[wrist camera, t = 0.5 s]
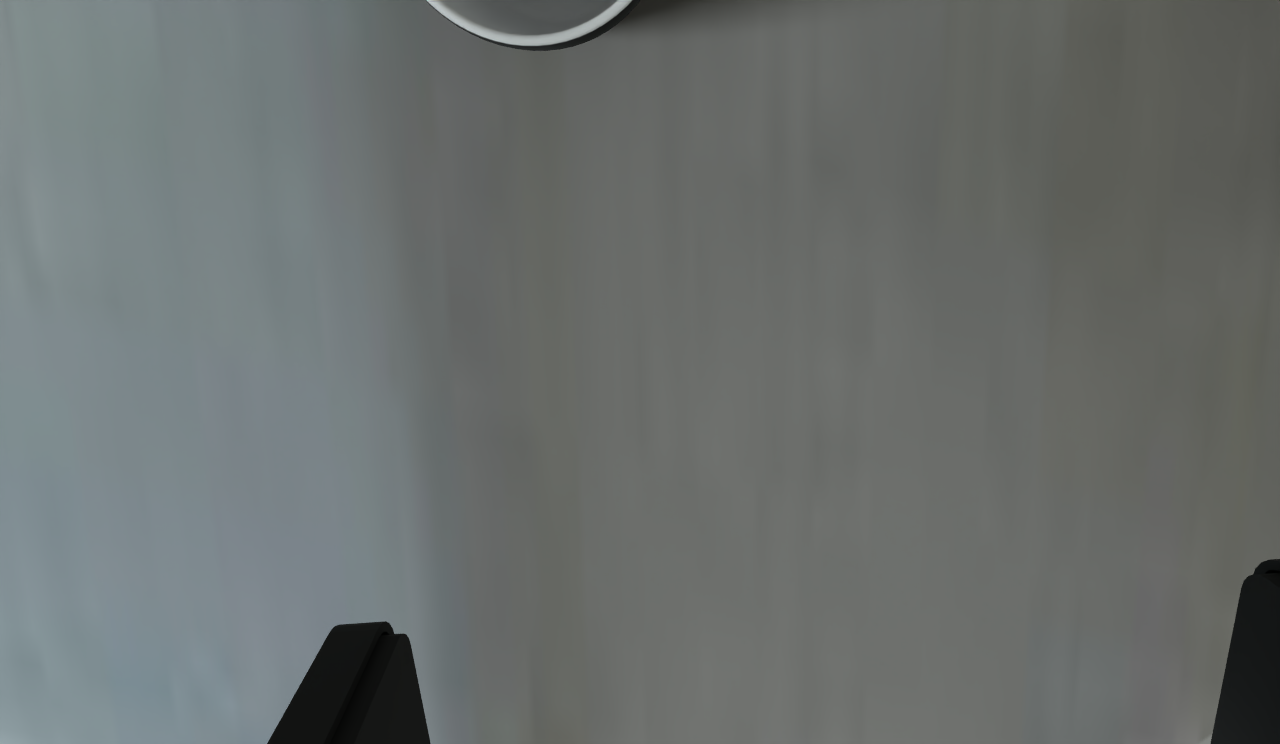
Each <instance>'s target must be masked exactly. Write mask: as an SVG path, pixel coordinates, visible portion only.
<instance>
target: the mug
mask: <svg viewBox="0 0 1280 744" xmlns="http://www.w3.org/2000/svg"><path fill="white" fill-rule="evenodd" d="M426 1H427V2H428V3H429V4H430V5H431V6H432V7H433V8H434V9H435V10H436V11H438V12H439V13H440V14H441V15H442V16H444V17H445V18H446V19H448V20H449V21H451V22H452V23H454V24H455V25H456V26H458V27H460V28H462V29H463V30H465V31H467V32H469V33H470V34H472V35H475V36H477V37H479V38H481V39H484V40H486V41H489V42H492V43H495V44H498V45H501V46H506V47H510V48H515V49H522V50H532V51H548V50H557V49H563V48H568V47H573V46H576V45H579V44H582V43H585V42H587V41H590V40H592V39H594V38H596V37H598V36H600V35H601V34H603V33H605V32H607V31H608V30H609V29H611V28H612V27H614V26H615V25H616V24H618V23H619V22H620V21H621V20H622V19H623V18H624V17H626V16H627V15H628V14H629V12H630V11H631V10H632V9H633V8H634V7H635V6H636V5H637V4H638V2H639V1H640V0H426Z"/></svg>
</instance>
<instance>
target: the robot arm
mask: <svg viewBox="0 0 1280 744" xmlns="http://www.w3.org/2000/svg"><path fill="white" fill-rule="evenodd" d="M267 744H430V739H429V734H428V729H427V724H426V719H425V714H424V709H423V704H422V699H421V694H420V689H419V684H418V679H417V674H416V669H415V664H414V659H413V654H412V649H411V644H410V641H409V638H408V636H407V635H406V634H394V632H393V628H392V627H391V625H390V624H389V623H388V622H372V623H358V624H343V625H337V626H335V627H334V628H333V629H332V630H331V631H330V633H329V635H328V636H327V638H326V640H325V642H324V643H323V645H322V647H321V649H320V651H319V652H318V654H317V656H316V658H315V659H314V661H313V663H312V665H311V667H310V668H309V670H308V672H307V674H306V676H305V677H304V679H303V681H302V683H301V684H300V686H299V688H298V690H297V692H296V693H295V695H294V697H293V699H292V700H291V702H290V704H289V706H288V708H287V709H286V711H285V713H284V715H283V717H282V718H281V720H280V722H279V724H278V725H277V727H276V729H275V731H274V733H273V734H272V736H271V738H270V740H269V741H268V743H267ZM1211 744H1280V559H1273V560H1267V561H1264V562H1261V563H1260V565H1259V566H1258V567H1257V568H1256V569H1255V572H1254V574H1253V575H1251V576H1248V577H1247V578H1246V579H1245V580H1244V582H1243V585H1242V588H1241V593H1240V598H1239V603H1238V608H1237V613H1236V618H1235V623H1234V628H1233V633H1232V638H1231V643H1230V648H1229V653H1228V658H1227V664H1226V669H1225V674H1224V679H1223V684H1222V689H1221V694H1220V699H1219V704H1218V709H1217V714H1216V719H1215V724H1214V729H1213V734H1212V739H1211Z"/></svg>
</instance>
